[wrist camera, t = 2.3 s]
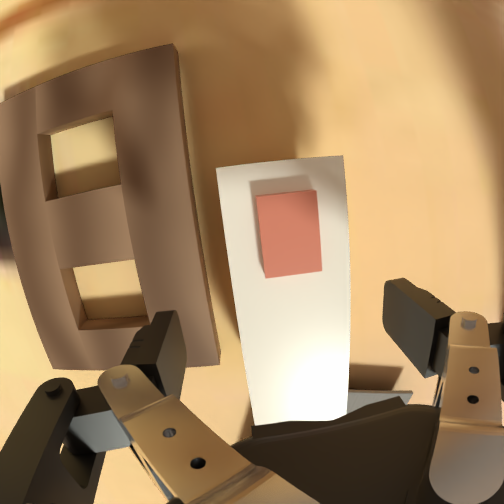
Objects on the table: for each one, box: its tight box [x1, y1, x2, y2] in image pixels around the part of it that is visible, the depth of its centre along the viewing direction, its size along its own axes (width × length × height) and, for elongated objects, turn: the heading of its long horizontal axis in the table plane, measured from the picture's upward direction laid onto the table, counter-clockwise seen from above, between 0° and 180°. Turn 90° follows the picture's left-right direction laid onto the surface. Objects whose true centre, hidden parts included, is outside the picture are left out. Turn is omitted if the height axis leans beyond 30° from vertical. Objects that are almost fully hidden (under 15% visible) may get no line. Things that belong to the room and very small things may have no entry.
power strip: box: [216, 155, 350, 425], centre depth 15 cm, size 4×12×7 cm, turn 7°
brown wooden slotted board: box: [0, 44, 221, 370], centre depth 17 cm, size 12×18×2 cm, turn 7°
